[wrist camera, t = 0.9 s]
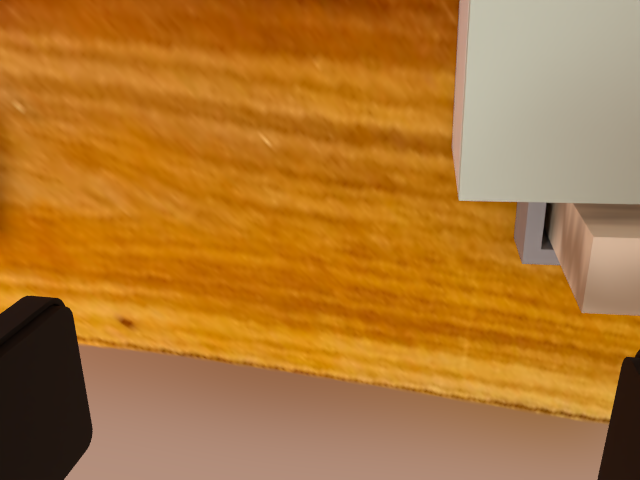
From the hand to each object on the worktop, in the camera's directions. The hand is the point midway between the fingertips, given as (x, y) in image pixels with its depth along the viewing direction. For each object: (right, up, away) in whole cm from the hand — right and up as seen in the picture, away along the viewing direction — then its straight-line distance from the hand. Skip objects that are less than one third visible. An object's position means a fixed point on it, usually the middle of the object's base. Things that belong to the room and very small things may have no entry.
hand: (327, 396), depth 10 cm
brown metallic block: (+16, +6, +29) cm, 34 cm away
